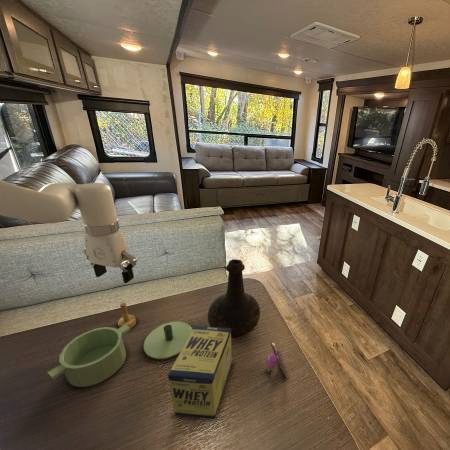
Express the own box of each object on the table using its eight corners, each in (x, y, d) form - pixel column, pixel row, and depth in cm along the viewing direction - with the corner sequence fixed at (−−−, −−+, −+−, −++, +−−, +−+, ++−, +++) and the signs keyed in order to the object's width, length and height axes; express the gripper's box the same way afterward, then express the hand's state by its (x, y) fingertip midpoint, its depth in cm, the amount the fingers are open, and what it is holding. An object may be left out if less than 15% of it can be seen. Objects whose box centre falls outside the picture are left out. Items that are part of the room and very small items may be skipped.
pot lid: (134, 346, 79) (130, 333, 77) (174, 318, 91) (172, 305, 89) (164, 368, 73) (161, 354, 71) (202, 335, 85) (201, 322, 83)
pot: (45, 379, 68) (36, 360, 65) (119, 332, 83) (114, 315, 80) (70, 406, 62) (61, 386, 59) (144, 350, 78) (140, 333, 75)
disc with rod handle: (115, 325, 86) (110, 305, 82) (130, 317, 90) (126, 297, 86) (124, 332, 84) (119, 311, 80) (139, 322, 88) (134, 302, 84)
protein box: (174, 416, 62) (166, 375, 56) (198, 361, 76) (195, 323, 70) (215, 420, 62) (212, 379, 56) (232, 364, 77) (231, 326, 70)
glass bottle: (203, 319, 92) (197, 254, 81) (248, 304, 101) (249, 244, 90) (217, 356, 78) (213, 285, 67) (267, 334, 88) (271, 269, 77)
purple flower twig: (282, 364, 71) (273, 340, 78) (266, 374, 69) (257, 348, 77) (288, 376, 74) (278, 352, 82) (272, 386, 73) (264, 360, 80)
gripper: (62, 227, 67) (79, 279, 74) (118, 238, 65) (130, 290, 72) (89, 218, 74) (102, 266, 81) (140, 227, 72) (149, 275, 78)
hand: (115, 277), depth 76 cm, fingers open, 9 cm apart
